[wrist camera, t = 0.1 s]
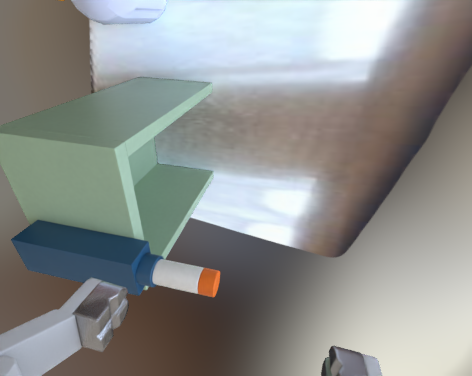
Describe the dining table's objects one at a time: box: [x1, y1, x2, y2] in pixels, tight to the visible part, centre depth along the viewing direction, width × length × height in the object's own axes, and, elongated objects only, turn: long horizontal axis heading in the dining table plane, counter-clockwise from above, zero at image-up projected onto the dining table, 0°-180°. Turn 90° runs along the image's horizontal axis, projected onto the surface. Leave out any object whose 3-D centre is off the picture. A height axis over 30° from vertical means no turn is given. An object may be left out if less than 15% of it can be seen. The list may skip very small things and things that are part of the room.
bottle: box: [11, 220, 220, 297], centre depth 27 cm, size 20×4×3 cm, turn 88°
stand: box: [0, 77, 213, 290], centre depth 39 cm, size 13×18×27 cm
